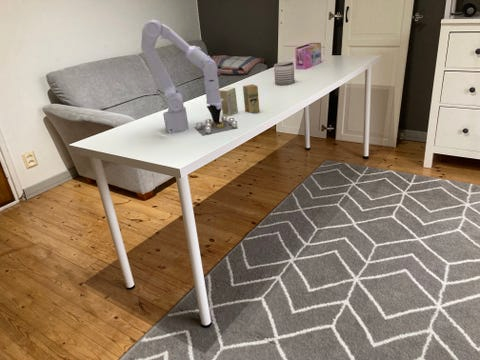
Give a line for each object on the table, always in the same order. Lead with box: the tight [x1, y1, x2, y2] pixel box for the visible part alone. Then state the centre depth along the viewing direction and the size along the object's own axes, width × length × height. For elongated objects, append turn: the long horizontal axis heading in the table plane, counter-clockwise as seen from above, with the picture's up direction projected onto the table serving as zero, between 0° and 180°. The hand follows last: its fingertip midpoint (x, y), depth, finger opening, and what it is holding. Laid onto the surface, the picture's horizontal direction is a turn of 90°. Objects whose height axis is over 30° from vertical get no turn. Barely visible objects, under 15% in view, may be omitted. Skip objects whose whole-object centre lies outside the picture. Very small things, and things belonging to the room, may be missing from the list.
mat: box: [193, 119, 239, 137], centre depth 161 cm, size 15×13×1 cm
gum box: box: [294, 42, 322, 70], centre depth 265 cm, size 24×8×14 cm, turn 143°
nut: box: [214, 120, 226, 129], centre depth 161 cm, size 4×5×2 cm
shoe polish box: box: [242, 84, 260, 115], centre depth 177 cm, size 5×5×12 cm
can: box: [273, 60, 296, 87], centre depth 223 cm, size 11×11×12 cm
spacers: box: [195, 115, 239, 135], centre depth 160 cm, size 15×12×2 cm
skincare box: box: [219, 86, 239, 117], centre depth 175 cm, size 6×4×12 cm
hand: (216, 122), depth 165 cm, fingers closed
